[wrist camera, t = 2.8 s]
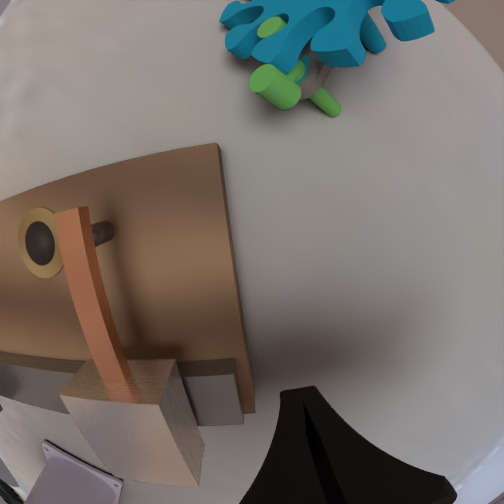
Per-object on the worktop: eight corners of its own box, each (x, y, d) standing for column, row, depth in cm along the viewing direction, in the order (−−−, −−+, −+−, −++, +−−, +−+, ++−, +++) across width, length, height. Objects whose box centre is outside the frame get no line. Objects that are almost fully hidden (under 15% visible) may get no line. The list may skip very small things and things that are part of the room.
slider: (206, 431, 12) (198, 487, 8) (133, 428, 12) (114, 476, 8) (149, 194, 9) (102, 199, 6) (61, 214, 9) (2, 227, 6)
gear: (272, -73, 7) (460, -85, 1) (331, -14, 11) (489, 11, 5) (165, 74, 10) (386, 124, 4) (255, 119, 15) (427, 197, 9)
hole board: (254, 393, 14) (255, 416, 12) (-10, 373, 14) (-21, 383, 12) (220, 148, 11) (215, 141, 9) (-54, 231, 11) (-69, 236, 9)
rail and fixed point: (246, 421, 12) (247, 486, 8) (-13, 389, 12) (-39, 415, 8) (207, 185, 10) (182, 184, 6) (-62, 254, 10) (-98, 268, 6)
